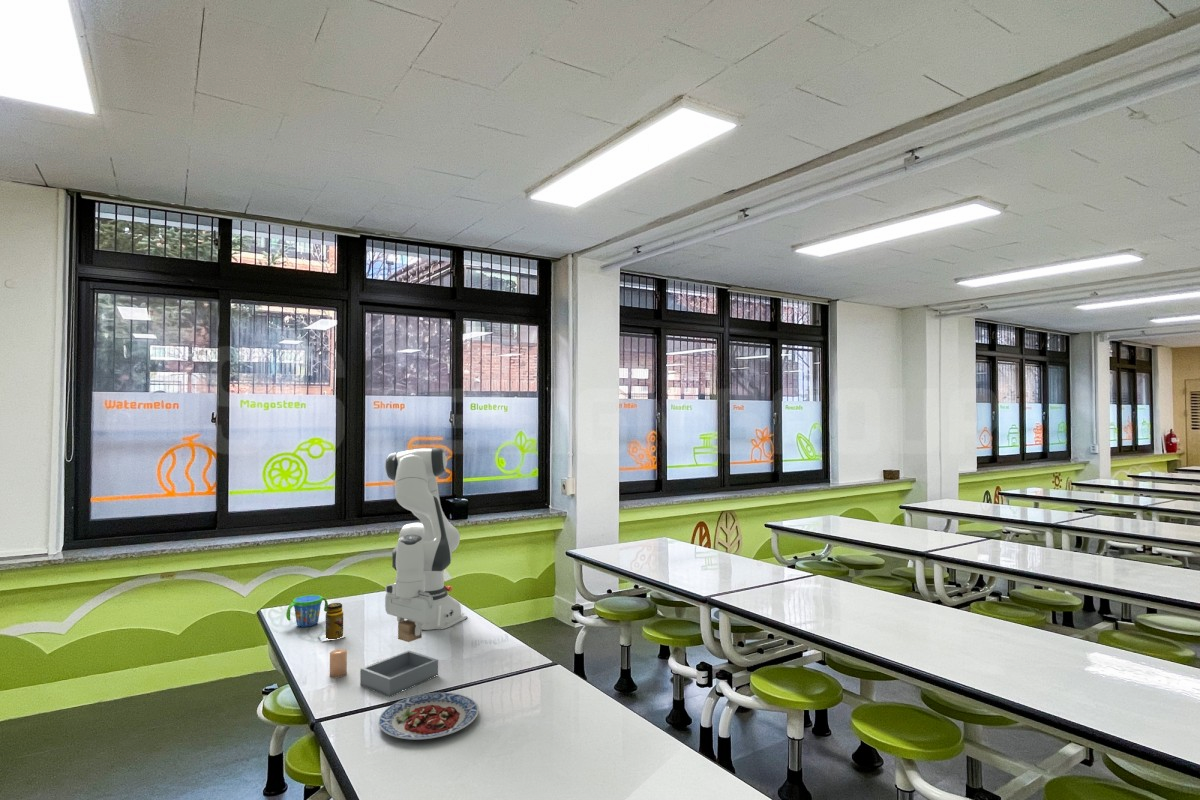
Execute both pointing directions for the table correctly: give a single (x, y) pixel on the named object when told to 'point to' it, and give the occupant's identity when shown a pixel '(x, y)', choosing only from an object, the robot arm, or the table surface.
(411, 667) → the tote
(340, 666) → the terracotta cylinder
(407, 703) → the ceramic plate
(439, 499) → the robot arm
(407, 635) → the walnut cube
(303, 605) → the snack cup
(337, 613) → the condiment
